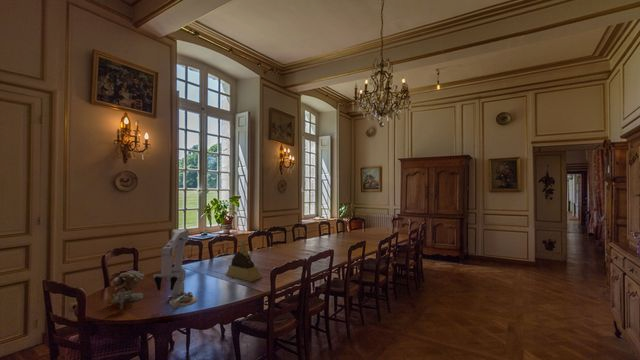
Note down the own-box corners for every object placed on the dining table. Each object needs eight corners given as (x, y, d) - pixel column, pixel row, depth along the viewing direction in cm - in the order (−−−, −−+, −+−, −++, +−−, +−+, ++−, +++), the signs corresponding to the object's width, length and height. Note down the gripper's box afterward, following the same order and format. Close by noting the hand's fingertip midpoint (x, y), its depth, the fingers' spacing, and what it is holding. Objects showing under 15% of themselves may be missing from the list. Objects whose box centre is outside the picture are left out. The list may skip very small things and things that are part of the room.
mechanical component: (110, 311, 189) (111, 294, 189) (130, 306, 196) (130, 290, 196) (112, 312, 187) (112, 295, 187) (132, 308, 194) (132, 291, 194)
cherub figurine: (121, 293, 219) (122, 267, 220) (149, 293, 221) (149, 266, 221) (106, 303, 202) (107, 274, 202) (136, 302, 203) (137, 273, 203)
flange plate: (176, 297, 213) (176, 295, 213) (200, 297, 213) (200, 295, 213) (164, 306, 197) (164, 304, 197) (191, 306, 197) (191, 304, 197)
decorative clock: (262, 277, 259) (262, 239, 259) (250, 281, 248) (250, 242, 249) (238, 272, 275) (238, 236, 275) (226, 275, 264) (226, 238, 264)
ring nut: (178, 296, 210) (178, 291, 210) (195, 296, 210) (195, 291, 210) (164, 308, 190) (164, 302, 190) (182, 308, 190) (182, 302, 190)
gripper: (151, 267, 194) (149, 291, 191) (176, 267, 194) (174, 290, 192) (157, 266, 201) (155, 289, 198) (180, 266, 201) (179, 288, 199)
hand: (165, 290), depth 195 cm, fingers open, 7 cm apart
